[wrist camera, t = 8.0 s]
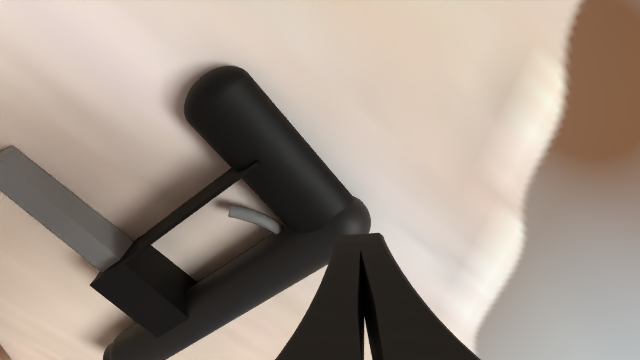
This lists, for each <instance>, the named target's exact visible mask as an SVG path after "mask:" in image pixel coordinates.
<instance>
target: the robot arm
mask: <svg viewBox="0 0 640 360" xmlns="http://www.w3.org/2000/svg"><path fill="white" fill-rule="evenodd" d="M364 317H365V322H366V328H367V333H368V338H369V344H370V349H371V354H372V360H480V359H479V358H478V357H477V356H476V355H475V354H474V353H473V352H471V351H470V350H469V349H468V348H467V347H466V346H465V345H464V344H463V343H462V342H460V341H459V340H458V339H457V338H456V336H455V335H454V334H453V333H452V332H451V331H450V330H449V329H448V328H447V327H446V326H445V325H444V324H443V323H442V322H441V321H440V320H439V319H438V318H437V316H436V315H435V314H434V313H433V312H432V311H431V310H430V308H429V307H428V306H427V305H426V303H425V302H424V301H423V300H422V298H421V297H420V296H419V295H418V293H417V292H416V291H415V289H414V288H413V287H412V285H411V284H410V282H409V281H408V279H407V278H406V276H405V275H404V274H403V272H402V271H401V269H400V267H399V266H398V264H397V263H396V261H395V259H394V258H393V256H392V254H391V252H390V250H389V248H388V246H387V244H386V242H385V240H384V237H383V236H382V235H381V234H380V233H370V234H355V235H339V236H337V237H336V238H335V241H334V247H333V251H332V255H331V258H330V261H329V264H328V267H327V269H326V272H325V274H324V277H323V279H322V282H321V284H320V286H319V288H318V290H317V293H316V295H315V297H314V299H313V301H312V303H311V305H310V307H309V309H308V310H307V312H306V314H305V316H304V317H303V319H302V321H301V323H300V324H299V326H298V327H297V329H296V331H295V332H294V334H293V335H292V337H291V338H290V340H289V341H288V343H287V344H286V346H285V347H284V348H283V350H282V351H281V353H280V354H279V355H278V357H277V358H276V359H275V360H364Z"/></svg>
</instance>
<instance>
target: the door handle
mask: <svg viewBox="0 0 640 360" xmlns="http://www.w3.org/2000/svg"><path fill="white" fill-rule="evenodd" d="M184 114H185V117H186V119H187V121H188V123H189V124H190V125H191V126H192V127H193V128H194V129H195V130H196V131H197V132H198V133H199V134H200V135H201V136H202V137H203V138H204V139H205V140H206V142H207V143H208V144H209V145H210V146H211V147H212V148H213V149H214V150H215V151H216V152H217V153H218V154H219V155H220V156H221V157H222V158H223V159H224V160H225V161H226V162H227V163H228V165H229V166H230V167H231V169H229V170H228V171H227V172H225V173H224V174H223V175H221V176H220V177H219V178H217V179H216V180H215V181H213V182H212V183H211V184H210V185H208V186H207V187H206V188H204V189H203V190H202V191H200V192H199V193H198V194H196V195H195V196H194V197H192V198H191V199H190V200H188V201H187V202H186V203H184V204H183V205H182V206H180V207H179V208H178V209H176V210H175V211H174V212H172V213H171V214H170V215H168V216H167V217H166V218H164V219H163V220H162V221H161V222H159V223H158V224H157V225H155V226H154V227H153V228H151V229H150V230H149V231H147V232H146V233H145V234H143V235H142V236H141V237H139V238H138V239H136V240H135V241H133V240H131V239H130V238H129V237H128V236H127V235H126V234H124V233H123V232H122V231H121V230H119V229H118V228H117V227H116V226H114V225H113V224H112V223H110V222H109V221H108V220H107V219H105V218H104V217H103V216H102V215H100V214H99V213H98V212H97V211H95V210H94V209H93V208H91V207H90V206H89V205H88V204H86V203H85V202H84V201H83V200H81V199H80V198H79V197H78V196H76V195H75V194H74V193H72V192H71V191H70V190H69V189H67V188H66V187H65V186H64V185H62V184H61V183H60V182H59V181H57V180H56V179H55V178H53V177H52V176H51V175H50V174H48V173H47V172H46V171H45V170H43V169H42V168H41V167H40V166H38V165H37V164H36V163H34V162H33V161H32V160H31V159H29V158H28V157H27V156H26V155H24V154H23V153H22V152H21V151H19V150H18V149H17V148H15V147H14V146H13V145H12V146H10V147H8V148H6V149H5V150H3V151H1V152H0V191H1V192H3V193H4V194H5V195H6V196H8V197H9V198H10V199H11V200H13V201H14V202H15V203H16V204H18V205H19V206H20V207H21V208H23V209H24V210H25V211H26V212H27V213H29V214H30V215H31V216H32V217H34V218H35V219H36V220H37V221H39V222H40V223H41V224H42V225H44V226H45V227H46V228H47V229H49V230H50V231H51V232H52V233H54V234H55V235H56V236H57V237H58V238H60V239H61V240H62V241H63V242H65V243H66V244H67V245H68V246H70V247H71V248H72V249H73V250H75V251H76V252H77V253H78V254H80V255H81V256H82V257H83V258H85V259H86V260H87V261H88V262H89V263H91V264H92V265H93V266H94V267H96V268H97V269H98V270H99V271H101V272H100V273H99V274H98V275H97V277H96V278H95V279H94V280H93V282H92V283H91V284H90V286H91V287H92V288H94V289H95V290H96V291H97V292H99V293H100V294H101V295H103V296H104V297H105V298H106V299H108V300H109V301H110V302H111V303H113V304H114V305H115V306H117V307H118V308H119V309H120V310H122V311H123V312H124V313H126V314H127V315H128V316H129V317H131V318H132V319H133V320H134V321H136V322H137V323H136V324H134V325H133V326H131V327H129V328H128V329H126V330H125V331H123V332H122V333H121V334H119V335H118V336H117V337H116V339H115V340H114V341H113V343H111V344H110V345H109V346H108V347H107V348H106V350H105V352H104V355H103V360H166V359H168V358H169V357H171V356H173V355H174V354H176V353H178V352H179V351H181V350H183V349H185V348H186V347H188V346H190V345H191V344H193V343H195V342H197V341H198V340H200V339H202V338H203V337H205V336H207V335H208V334H210V333H212V332H214V331H215V330H217V329H219V328H220V327H222V326H224V325H225V324H227V323H229V322H231V321H232V320H234V319H236V318H237V317H239V316H241V315H242V314H244V313H246V312H248V311H249V310H251V309H253V308H254V307H256V306H258V305H259V304H261V303H263V302H265V301H266V300H268V299H270V298H271V297H273V296H275V295H276V294H278V293H280V292H282V291H283V290H285V289H287V288H288V287H290V286H292V285H293V284H295V283H297V282H299V281H300V280H302V279H304V278H305V277H307V276H309V275H310V274H312V273H314V272H316V271H317V270H319V269H321V268H322V267H324V266H326V265H328V264H329V261H330V258H331V255H332V251H333V247H334V241H335V238H336V237H337V236H339V235H355V234H369V231H370V227H371V218H370V214H369V211H368V209H367V208H366V206H365V205H364V204H363V202H361V201H360V200H359V199H358V198H356V197H354V196H352V195H351V194H350V193H349V191H348V190H347V189H346V188H345V187H344V185H343V184H342V183H341V182H340V181H339V180H338V178H337V177H336V176H335V175H334V174H333V173H332V171H331V170H330V169H329V168H328V167H327V165H326V164H325V163H324V162H323V161H322V160H321V158H320V157H319V156H318V155H317V154H316V153H315V151H314V150H313V149H312V148H311V147H310V145H309V144H308V143H307V142H306V141H305V140H304V138H303V137H302V136H301V135H300V134H299V133H298V131H297V130H296V129H295V128H294V127H293V126H292V124H291V123H290V122H289V121H288V120H287V118H286V117H285V116H284V115H283V114H282V113H281V111H280V110H279V109H278V108H277V107H276V106H275V104H274V103H273V102H272V101H271V100H270V98H269V97H268V96H267V95H266V94H265V93H264V91H263V90H262V89H261V88H260V87H259V86H258V84H257V83H256V82H255V81H254V80H253V78H252V77H251V76H250V75H249V74H248V73H247V72H246V71H245V70H244V69H242V68H239V67H235V66H225V67H220V68H217V69H214V70H212V71H210V72H208V73H207V74H205V75H204V76H202V77H201V78H200V79H199V80H198V81H197V82H196V83H195V84H194V85H193V87H192V88H191V89H190V91H189V93H188V95H187V97H186V100H185V104H184ZM241 178H242V179H243V180H244V181H245V182H246V183H247V184H248V185H249V186H250V188H251V189H252V190H253V191H254V192H255V193H256V194H257V195H258V196H259V197H260V198H261V199H262V200H263V201H264V202H265V203H266V204H267V205H268V206H269V207H270V208H271V209H272V211H273V212H274V213H275V214H276V215H277V216H278V217H279V218H280V219H281V220H282V221H283V222H284V223H285V224H286V226H284V227H283V226H281V225H280V224H279V223H277V222H276V221H275V220H273V219H271V218H269V217H267V216H265V215H263V214H261V213H259V212H256V211H253V210H250V209H247V208H244V207H240V206H235V205H231V206H230V209H229V214H228V216H229V217H232V218H237V219H241V220H244V221H248V222H251V223H254V224H257V225H259V226H261V227H264V228H266V229H268V230H270V231H271V232H273V234H272V235H270V236H269V237H267V238H266V239H264V240H263V241H261V242H260V243H258V244H256V245H255V246H253V247H252V248H250V249H249V250H247V251H246V252H244V253H243V254H241V255H240V256H238V257H237V258H235V259H234V260H232V261H230V262H229V263H227V264H226V265H224V266H223V267H221V268H220V269H218V270H217V271H215V272H214V273H212V274H211V275H209V276H207V277H206V278H204V279H203V280H201V281H200V282H196V281H195V280H194V279H193V278H191V277H190V276H189V275H188V274H186V273H185V272H184V271H183V270H181V269H180V268H179V267H178V266H176V265H175V264H174V263H173V262H171V261H170V260H169V259H168V258H166V257H165V256H164V255H163V254H161V253H160V252H159V251H158V250H156V249H155V248H154V247H153V246H151V244H152V243H154V242H155V241H156V240H158V239H159V238H161V237H162V236H163V235H165V234H166V233H167V232H169V231H170V230H171V229H173V228H174V227H175V226H177V225H178V224H180V223H181V222H182V221H184V220H185V219H186V218H188V217H189V216H190V215H192V214H193V213H194V212H196V211H197V210H199V209H200V208H201V207H203V206H204V205H205V204H207V203H208V202H209V201H211V200H212V199H213V198H215V197H216V196H218V195H219V194H220V193H222V192H223V191H224V190H226V189H227V188H228V187H230V186H231V185H233V184H234V183H235V182H237V181H238V180H239V179H241Z"/></svg>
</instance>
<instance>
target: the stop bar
mask: <svg viewBox="0 0 640 360" xmlns="http://www.w3.org/2000/svg"><path fill="white" fill-rule="evenodd" d="M0 360H11V359H10V358H9V356H8V355H7V354H6V352H5V351H4V349H3V348H2V347H1V345H0Z"/></svg>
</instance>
